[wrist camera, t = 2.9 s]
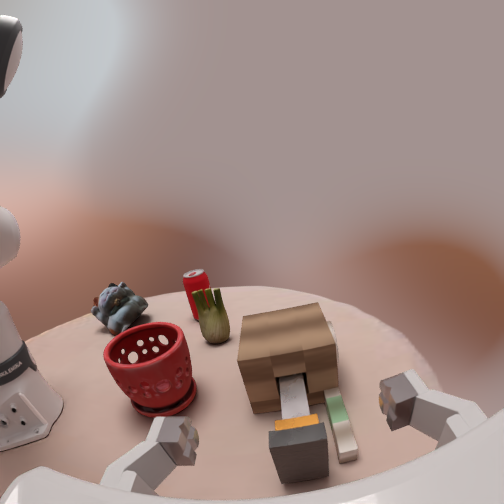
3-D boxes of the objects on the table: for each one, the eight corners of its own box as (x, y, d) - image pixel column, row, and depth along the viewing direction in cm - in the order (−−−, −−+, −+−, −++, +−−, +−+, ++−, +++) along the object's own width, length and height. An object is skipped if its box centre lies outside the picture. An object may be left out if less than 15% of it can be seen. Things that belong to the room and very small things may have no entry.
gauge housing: (363, 457, 23) (369, 404, 20) (251, 476, 24) (228, 428, 21) (328, 351, 45) (322, 301, 43) (255, 365, 46) (242, 316, 44)
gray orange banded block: (328, 476, 21) (327, 438, 19) (281, 483, 21) (269, 447, 19) (310, 386, 36) (304, 342, 34) (276, 392, 37) (266, 349, 35)
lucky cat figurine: (113, 341, 63) (81, 299, 62) (115, 341, 73) (86, 305, 72) (154, 306, 71) (122, 266, 70) (149, 310, 81) (122, 276, 80)
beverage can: (221, 310, 71) (210, 267, 68) (210, 322, 66) (197, 276, 63) (201, 310, 74) (189, 269, 71) (190, 322, 68) (176, 278, 65)
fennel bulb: (236, 336, 57) (222, 284, 54) (222, 349, 53) (206, 295, 50) (215, 333, 60) (200, 283, 57) (201, 344, 56) (184, 293, 54)
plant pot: (130, 431, 32) (92, 372, 30) (137, 383, 45) (111, 330, 42) (210, 417, 35) (183, 353, 32) (201, 369, 47) (181, 312, 45)
